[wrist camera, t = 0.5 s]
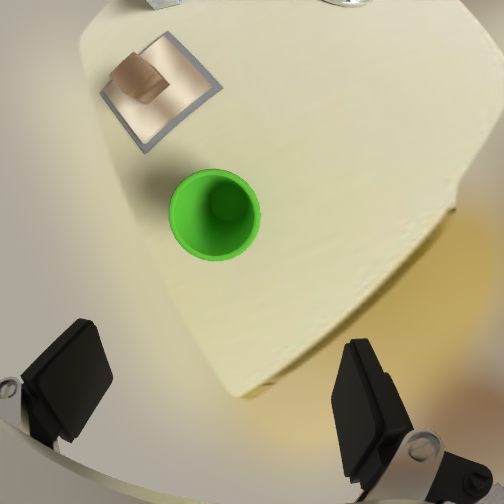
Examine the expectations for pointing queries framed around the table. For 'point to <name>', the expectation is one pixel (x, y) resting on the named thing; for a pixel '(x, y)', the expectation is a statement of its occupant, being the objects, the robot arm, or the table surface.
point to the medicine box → (162, 3)
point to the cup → (214, 215)
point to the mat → (182, 115)
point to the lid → (154, 88)
